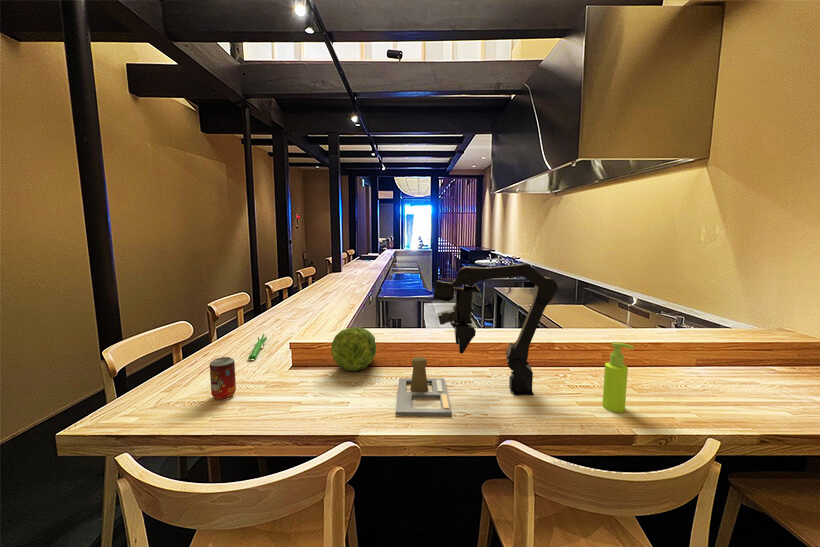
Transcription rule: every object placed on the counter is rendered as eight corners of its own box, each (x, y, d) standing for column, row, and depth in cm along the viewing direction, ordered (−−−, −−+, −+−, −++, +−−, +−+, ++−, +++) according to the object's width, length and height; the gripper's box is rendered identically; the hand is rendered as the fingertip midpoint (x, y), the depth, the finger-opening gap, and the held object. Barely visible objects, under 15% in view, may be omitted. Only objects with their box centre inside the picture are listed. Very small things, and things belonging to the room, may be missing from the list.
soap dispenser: (629, 415, 101) (633, 348, 99) (601, 409, 105) (605, 344, 102) (629, 406, 106) (633, 342, 104) (603, 401, 110) (606, 339, 107)
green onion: (257, 362, 146) (268, 338, 174) (256, 355, 145) (268, 332, 174) (244, 363, 144) (258, 339, 173) (244, 356, 144) (258, 332, 173)
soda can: (206, 400, 109) (204, 363, 108) (220, 391, 116) (219, 355, 115) (227, 402, 109) (225, 364, 107) (240, 392, 116) (239, 356, 114)
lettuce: (367, 370, 151) (392, 342, 150) (350, 383, 128) (380, 350, 127) (340, 343, 154) (365, 316, 153) (319, 351, 131) (348, 319, 130)
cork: (407, 391, 116) (407, 359, 115) (414, 384, 122) (414, 354, 121) (424, 394, 114) (424, 362, 113) (430, 387, 120) (430, 356, 118)
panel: (444, 381, 124) (444, 377, 124) (451, 416, 100) (451, 411, 100) (399, 381, 124) (399, 377, 124) (395, 415, 101) (395, 410, 100)
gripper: (438, 296, 126) (434, 338, 128) (442, 308, 108) (437, 356, 110) (468, 299, 126) (464, 340, 128) (478, 311, 108) (473, 359, 110)
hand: (459, 348), depth 119 cm, fingers open, 9 cm apart
